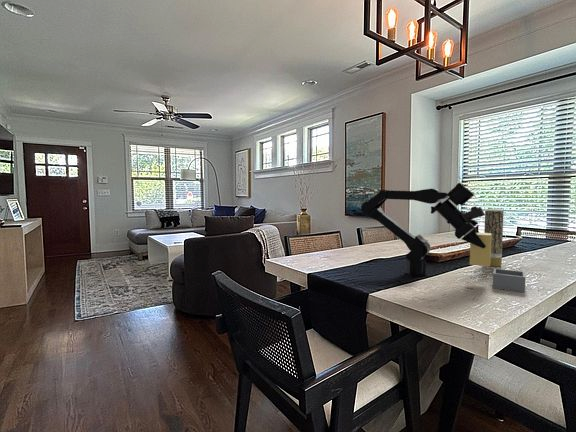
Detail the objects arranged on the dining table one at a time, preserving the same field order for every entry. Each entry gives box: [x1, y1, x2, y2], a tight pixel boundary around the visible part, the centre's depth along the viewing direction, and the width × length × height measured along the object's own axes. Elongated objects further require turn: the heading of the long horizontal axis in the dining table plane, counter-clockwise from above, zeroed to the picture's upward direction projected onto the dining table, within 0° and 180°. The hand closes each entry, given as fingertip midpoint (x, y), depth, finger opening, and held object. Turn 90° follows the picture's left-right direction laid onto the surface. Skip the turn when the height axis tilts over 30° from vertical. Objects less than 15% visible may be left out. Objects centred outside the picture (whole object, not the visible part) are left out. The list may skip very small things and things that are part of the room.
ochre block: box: [469, 232, 492, 267], centre depth 112 cm, size 6×6×11 cm
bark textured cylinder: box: [483, 208, 504, 268], centre depth 138 cm, size 7×7×25 cm
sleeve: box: [492, 267, 527, 293], centre depth 107 cm, size 9×9×5 cm
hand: (485, 246), depth 111 cm, fingers closed on ochre block, 6 cm apart
